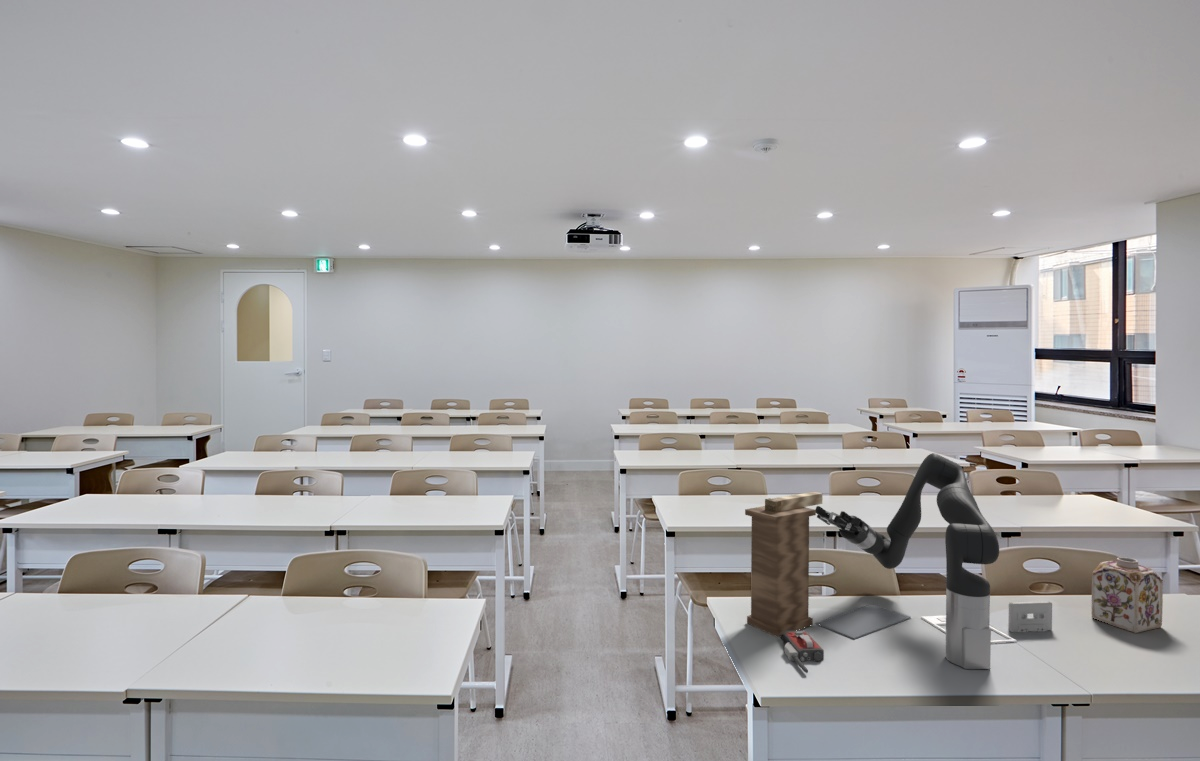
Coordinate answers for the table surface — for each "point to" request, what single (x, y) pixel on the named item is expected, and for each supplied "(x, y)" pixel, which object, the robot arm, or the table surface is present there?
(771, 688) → the table surface
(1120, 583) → the decorative jar
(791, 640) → the walkie-talkie
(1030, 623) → the cassette
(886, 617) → the mat
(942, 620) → the photo frame
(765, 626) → the stand
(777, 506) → the wooden bar
